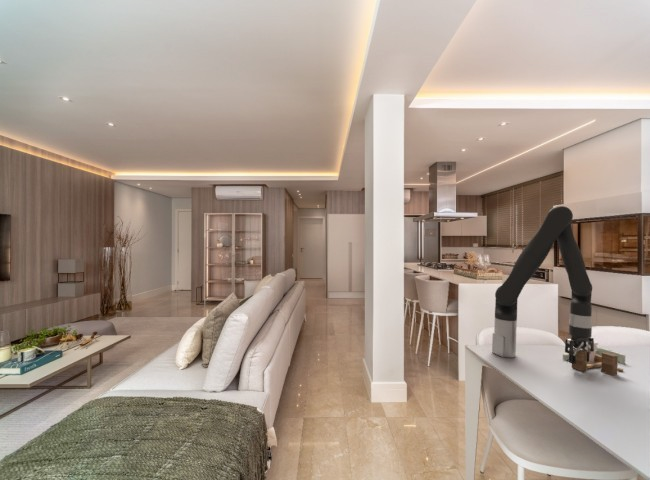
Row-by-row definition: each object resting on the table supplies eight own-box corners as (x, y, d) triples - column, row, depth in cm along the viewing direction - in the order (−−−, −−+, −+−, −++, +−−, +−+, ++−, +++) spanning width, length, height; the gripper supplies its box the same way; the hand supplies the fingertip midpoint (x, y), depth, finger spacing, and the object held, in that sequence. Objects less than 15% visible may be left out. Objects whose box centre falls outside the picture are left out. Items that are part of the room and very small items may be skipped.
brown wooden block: (612, 375, 127) (613, 356, 127) (601, 371, 131) (601, 352, 131) (627, 372, 130) (628, 354, 130) (616, 369, 134) (616, 350, 134)
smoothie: (600, 365, 138) (601, 334, 137) (584, 363, 139) (585, 333, 139) (591, 359, 144) (592, 330, 144) (575, 358, 145) (576, 328, 145)
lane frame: (590, 369, 133) (590, 360, 133) (562, 359, 143) (563, 350, 143) (625, 363, 140) (625, 355, 140) (596, 354, 151) (596, 346, 151)
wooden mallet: (581, 371, 130) (582, 352, 130) (556, 361, 140) (556, 343, 140) (612, 366, 136) (612, 348, 136) (585, 357, 146) (586, 340, 146)
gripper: (582, 321, 138) (580, 357, 138) (559, 323, 134) (558, 360, 134) (601, 326, 131) (600, 364, 131) (578, 328, 126) (577, 367, 127)
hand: (579, 362), depth 132 cm, fingers open, 8 cm apart
